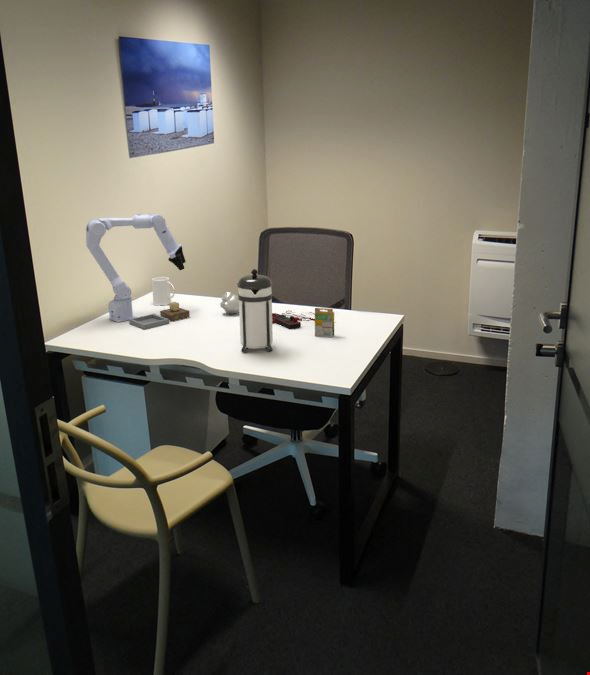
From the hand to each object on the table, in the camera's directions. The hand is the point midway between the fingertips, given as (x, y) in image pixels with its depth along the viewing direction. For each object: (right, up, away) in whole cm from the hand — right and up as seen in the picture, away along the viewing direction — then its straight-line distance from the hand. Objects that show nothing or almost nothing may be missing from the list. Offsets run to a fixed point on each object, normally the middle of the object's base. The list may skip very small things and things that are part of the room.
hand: (183, 266), depth 298 cm
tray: (-12, -26, -13) cm, 31 cm away
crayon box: (+61, -31, -32) cm, 75 cm away
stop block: (-3, -23, -4) cm, 23 cm away
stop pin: (-3, -23, -4) cm, 23 cm away
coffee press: (+35, -35, -44) cm, 66 cm away
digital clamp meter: (+51, -25, -10) cm, 58 cm away
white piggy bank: (+21, -21, +1) cm, 30 cm away
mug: (-11, -16, +18) cm, 27 cm away
